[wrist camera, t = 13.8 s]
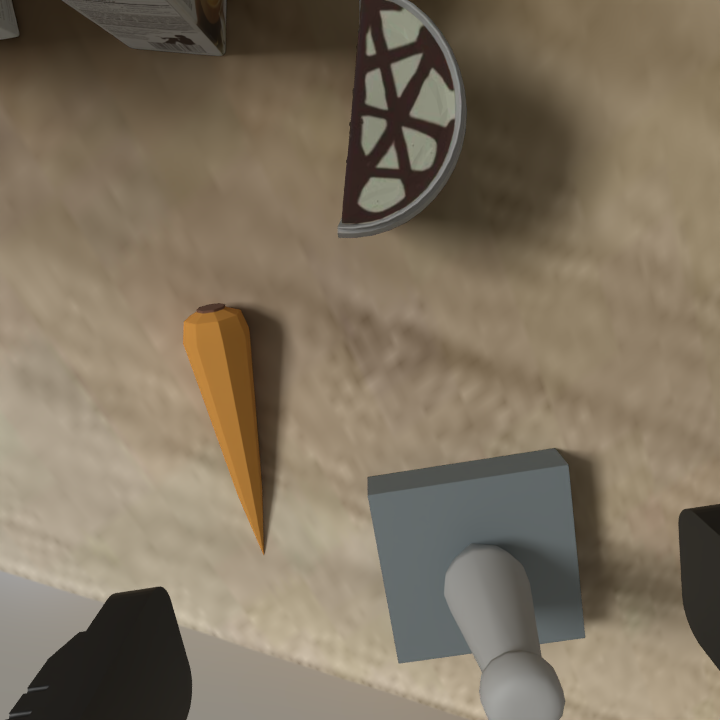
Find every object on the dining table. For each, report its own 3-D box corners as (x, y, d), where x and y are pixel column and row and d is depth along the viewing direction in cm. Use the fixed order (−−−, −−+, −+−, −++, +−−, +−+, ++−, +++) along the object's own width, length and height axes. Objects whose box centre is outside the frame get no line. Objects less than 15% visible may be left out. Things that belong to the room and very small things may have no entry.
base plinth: (554, 448, 44) (568, 464, 41) (571, 611, 47) (585, 637, 44) (367, 477, 45) (367, 495, 42) (396, 636, 48) (398, 663, 45)
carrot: (203, 299, 42) (161, 317, 39) (257, 297, 41) (219, 316, 37) (254, 534, 49) (223, 570, 45) (302, 541, 47) (274, 579, 43)
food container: (433, 242, 40) (455, 251, 31) (343, 233, 40) (336, 239, 31) (459, 44, 38) (491, -16, 28) (362, 34, 37) (360, -30, 28)
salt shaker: (491, 615, 44) (542, 778, 31) (424, 581, 43) (449, 732, 31) (535, 554, 43) (607, 697, 30) (467, 517, 42) (511, 648, 29)
